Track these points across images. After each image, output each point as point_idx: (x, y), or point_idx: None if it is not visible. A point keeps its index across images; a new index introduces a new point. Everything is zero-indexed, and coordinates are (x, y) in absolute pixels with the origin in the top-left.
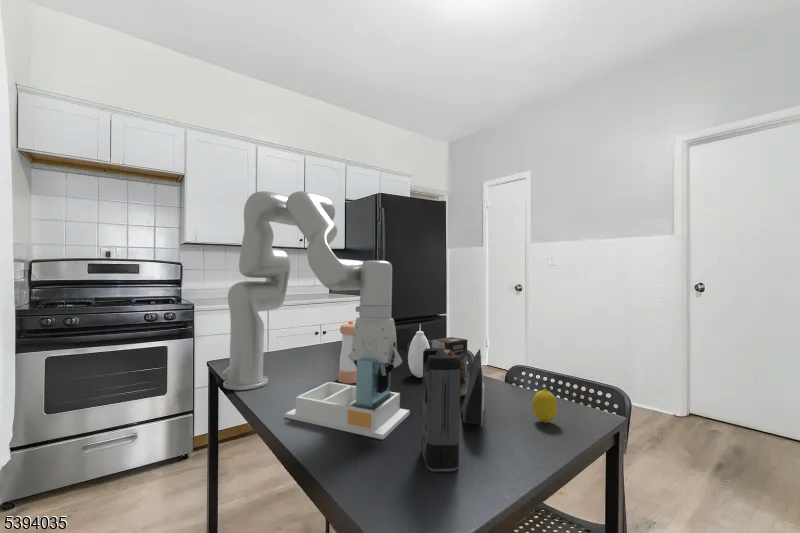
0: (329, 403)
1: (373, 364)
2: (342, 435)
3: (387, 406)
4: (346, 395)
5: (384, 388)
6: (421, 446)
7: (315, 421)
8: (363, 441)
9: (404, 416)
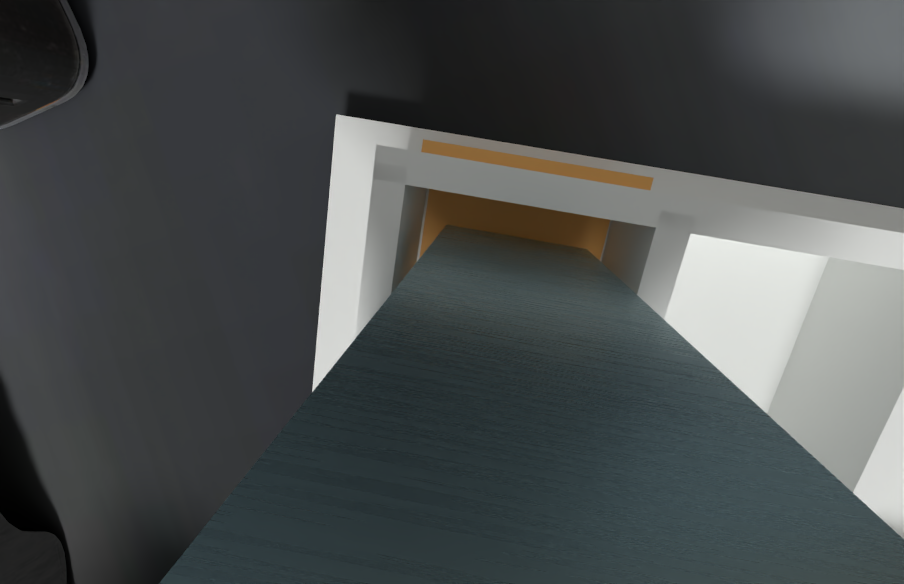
0: (883, 235)
1: None
2: (619, 96)
3: None
4: None
5: None
6: (62, 24)
7: (885, 206)
8: (455, 55)
9: None
